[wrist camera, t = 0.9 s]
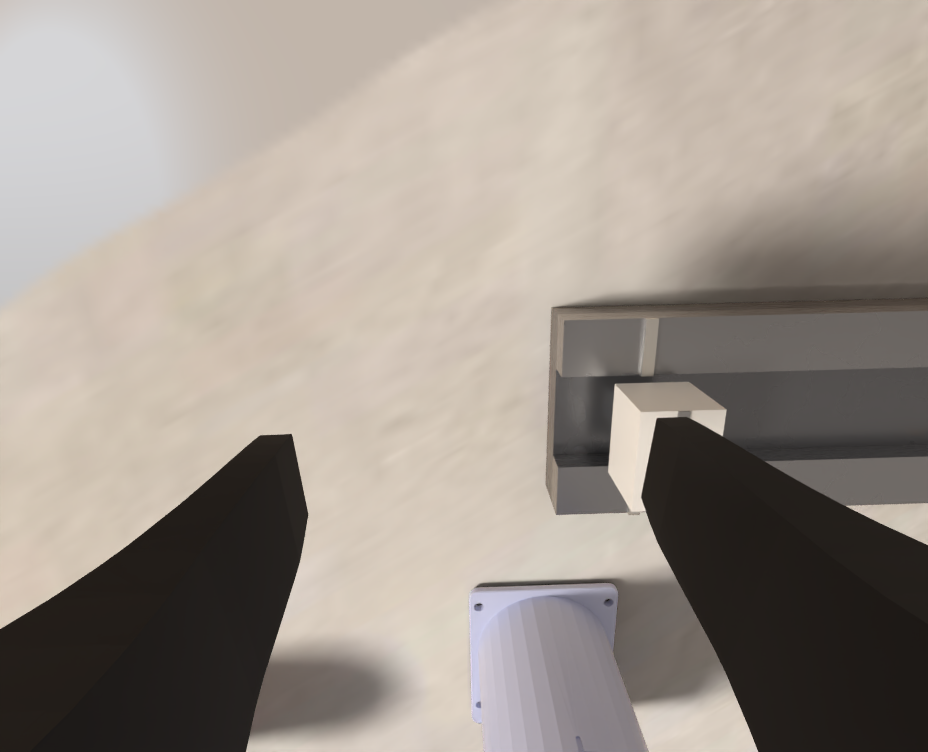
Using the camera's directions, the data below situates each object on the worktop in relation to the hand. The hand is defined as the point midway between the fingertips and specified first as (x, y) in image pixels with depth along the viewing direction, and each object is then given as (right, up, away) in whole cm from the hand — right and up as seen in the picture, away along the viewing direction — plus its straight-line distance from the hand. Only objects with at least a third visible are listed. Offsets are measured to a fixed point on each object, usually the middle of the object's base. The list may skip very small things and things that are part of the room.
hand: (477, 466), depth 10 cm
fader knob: (+7, 0, +12) cm, 14 cm away
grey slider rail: (+15, +1, +14) cm, 21 cm away
